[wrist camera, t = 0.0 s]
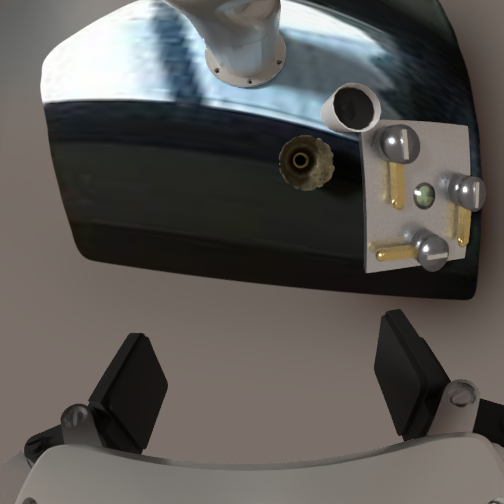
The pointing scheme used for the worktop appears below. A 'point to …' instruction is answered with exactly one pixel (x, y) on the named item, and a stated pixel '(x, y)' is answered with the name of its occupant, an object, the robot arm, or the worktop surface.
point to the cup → (306, 162)
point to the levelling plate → (413, 191)
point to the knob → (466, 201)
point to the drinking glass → (351, 109)
